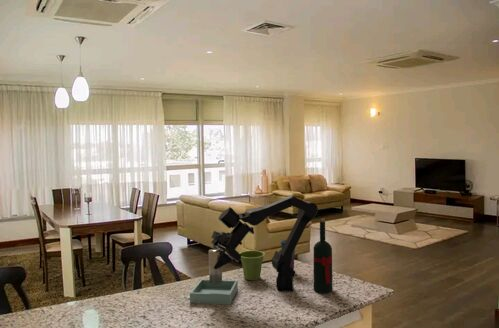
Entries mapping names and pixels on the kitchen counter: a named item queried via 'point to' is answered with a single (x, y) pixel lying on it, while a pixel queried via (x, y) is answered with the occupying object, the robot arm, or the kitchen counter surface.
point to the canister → (214, 274)
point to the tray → (214, 292)
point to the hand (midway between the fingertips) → (212, 266)
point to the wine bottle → (322, 263)
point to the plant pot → (252, 264)
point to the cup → (292, 254)
